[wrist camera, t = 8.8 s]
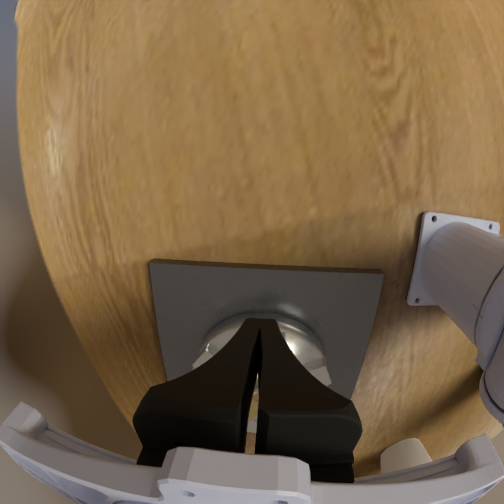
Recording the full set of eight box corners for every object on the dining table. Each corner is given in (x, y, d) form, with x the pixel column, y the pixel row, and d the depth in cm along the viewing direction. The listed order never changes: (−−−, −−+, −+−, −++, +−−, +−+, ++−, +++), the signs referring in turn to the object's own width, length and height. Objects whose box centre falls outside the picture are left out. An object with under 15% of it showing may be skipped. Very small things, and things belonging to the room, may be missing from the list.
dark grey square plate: (380, 269, 21) (384, 274, 20) (339, 419, 26) (340, 426, 25) (154, 258, 22) (148, 263, 21) (178, 409, 27) (175, 416, 26)
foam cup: (435, 423, 26) (464, 494, 14) (422, 453, 29) (442, 514, 17) (372, 444, 28) (389, 524, 15) (367, 471, 30) (379, 537, 18)
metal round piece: (248, 285, 21) (235, 346, 14) (350, 356, 22) (370, 420, 15) (159, 387, 25) (134, 441, 18) (247, 434, 26) (240, 489, 19)
